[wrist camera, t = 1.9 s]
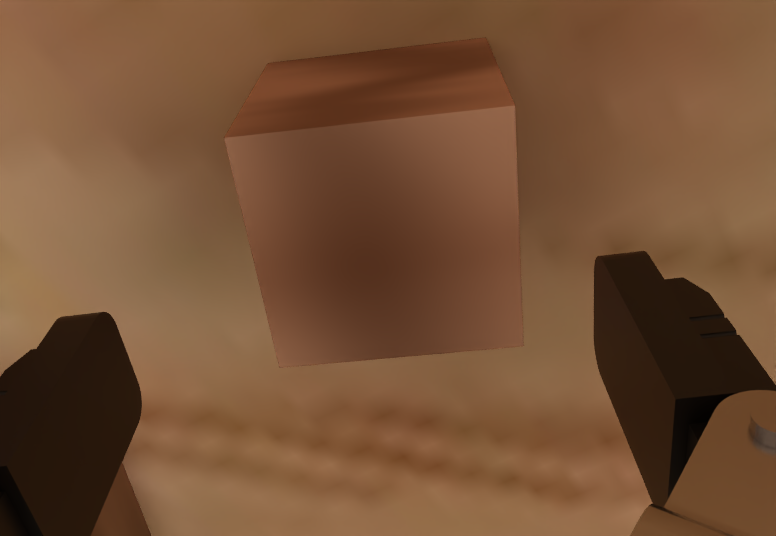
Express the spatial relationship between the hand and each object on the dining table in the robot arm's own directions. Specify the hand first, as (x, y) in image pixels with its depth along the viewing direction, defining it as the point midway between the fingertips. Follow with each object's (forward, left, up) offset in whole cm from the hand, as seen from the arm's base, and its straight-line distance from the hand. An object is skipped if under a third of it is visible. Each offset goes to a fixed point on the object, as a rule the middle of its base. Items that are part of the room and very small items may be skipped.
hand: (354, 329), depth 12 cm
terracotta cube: (-1, 0, -7) cm, 7 cm away
